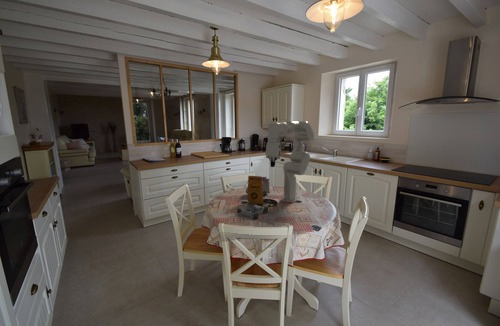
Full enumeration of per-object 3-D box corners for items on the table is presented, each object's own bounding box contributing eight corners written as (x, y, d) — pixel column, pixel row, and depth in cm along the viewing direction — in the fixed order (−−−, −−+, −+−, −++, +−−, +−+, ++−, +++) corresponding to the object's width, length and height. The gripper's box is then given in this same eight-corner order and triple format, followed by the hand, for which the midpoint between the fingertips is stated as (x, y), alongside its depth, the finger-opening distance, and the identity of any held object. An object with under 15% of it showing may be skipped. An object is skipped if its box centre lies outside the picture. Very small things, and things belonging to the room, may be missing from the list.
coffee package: (261, 206, 169) (261, 178, 164) (245, 204, 172) (245, 176, 168) (264, 201, 178) (265, 174, 174) (249, 199, 182) (249, 173, 177)
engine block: (250, 210, 157) (250, 203, 156) (255, 212, 155) (255, 205, 154) (245, 213, 153) (245, 206, 152) (250, 215, 150) (250, 208, 149)
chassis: (251, 206, 168) (251, 201, 167) (268, 211, 159) (268, 205, 158) (236, 214, 153) (236, 209, 153) (254, 220, 145) (254, 214, 144)
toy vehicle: (245, 194, 195) (245, 177, 192) (266, 192, 201) (266, 176, 198) (248, 197, 187) (248, 180, 184) (269, 195, 192) (270, 178, 189)
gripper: (285, 140, 151) (284, 167, 155) (266, 139, 160) (266, 164, 163) (280, 141, 145) (279, 169, 149) (261, 140, 154) (260, 166, 157)
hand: (272, 166), depth 156 cm, fingers closed
